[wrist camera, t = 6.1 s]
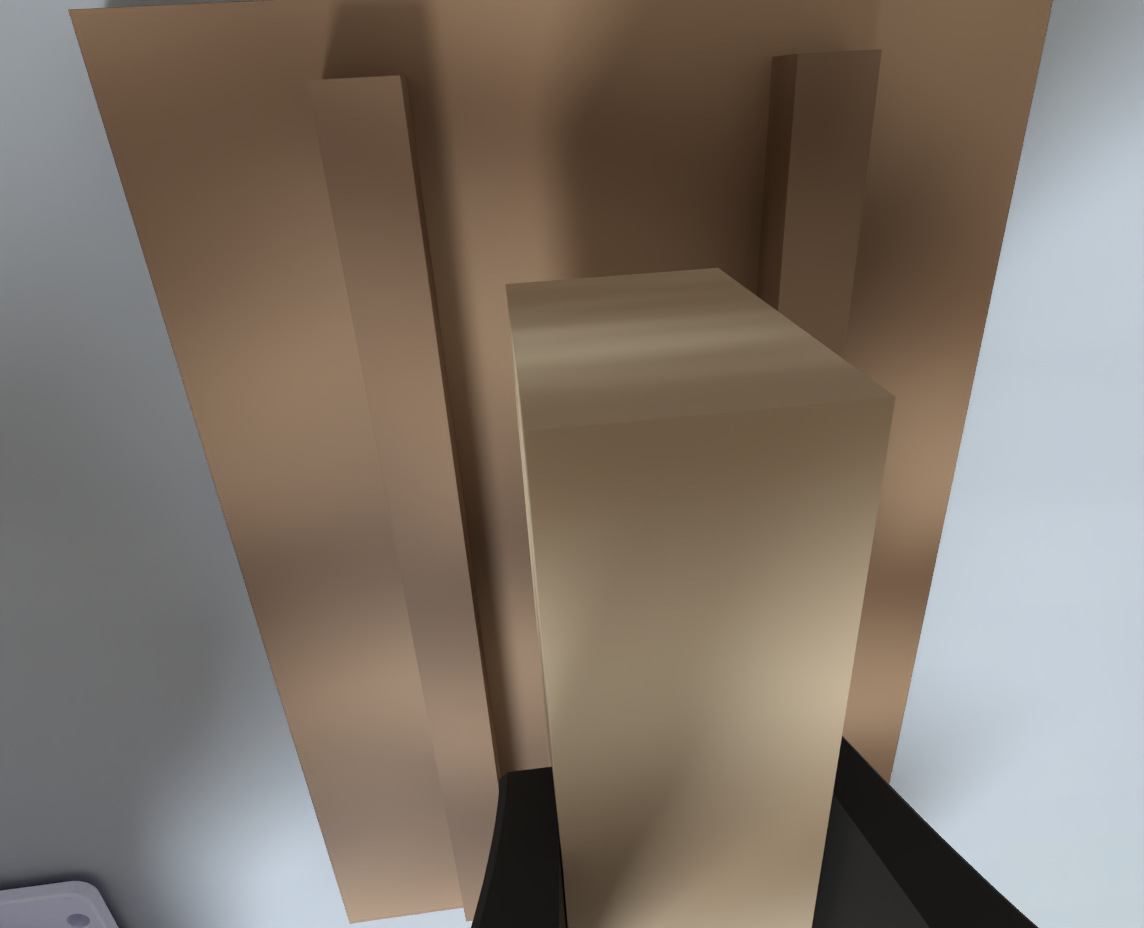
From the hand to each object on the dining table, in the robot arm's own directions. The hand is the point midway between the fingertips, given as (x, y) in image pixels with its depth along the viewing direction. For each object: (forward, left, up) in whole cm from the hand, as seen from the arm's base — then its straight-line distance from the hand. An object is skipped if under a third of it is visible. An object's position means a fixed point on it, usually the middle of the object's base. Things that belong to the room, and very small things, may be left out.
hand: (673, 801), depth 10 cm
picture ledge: (0, 0, -6) cm, 6 cm away
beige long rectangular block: (0, 0, -3) cm, 4 cm away
